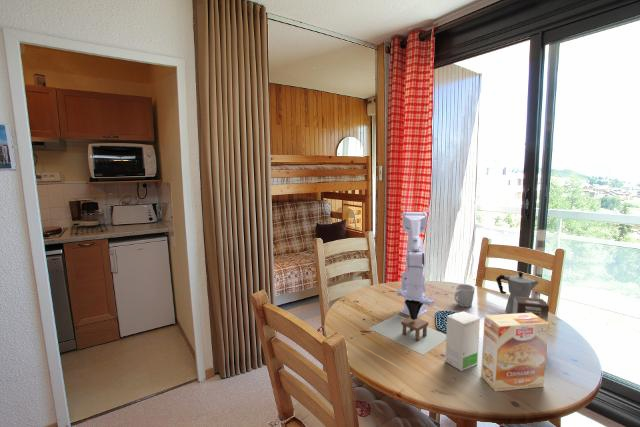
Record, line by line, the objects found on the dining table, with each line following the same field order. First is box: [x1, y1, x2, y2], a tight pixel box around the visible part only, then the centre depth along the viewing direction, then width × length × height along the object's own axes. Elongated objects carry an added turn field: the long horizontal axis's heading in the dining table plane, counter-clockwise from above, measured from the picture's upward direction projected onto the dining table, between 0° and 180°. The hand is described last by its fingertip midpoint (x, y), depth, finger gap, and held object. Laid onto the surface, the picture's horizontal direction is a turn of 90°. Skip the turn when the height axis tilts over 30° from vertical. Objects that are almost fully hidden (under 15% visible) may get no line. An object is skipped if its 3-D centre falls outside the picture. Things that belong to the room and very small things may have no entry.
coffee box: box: [513, 296, 550, 322], centre depth 110 cm, size 9×6×16 cm
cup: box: [453, 283, 476, 308], centre depth 142 cm, size 8×10×8 cm
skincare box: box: [444, 310, 481, 372], centre depth 100 cm, size 8×7×16 cm
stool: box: [401, 316, 429, 341], centre depth 117 cm, size 5×7×7 cm
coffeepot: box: [496, 271, 540, 314], centre depth 134 cm, size 15×9×18 cm, turn 59°
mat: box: [368, 314, 446, 356], centre depth 119 cm, size 18×24×1 cm
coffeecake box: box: [480, 312, 550, 392], centre depth 90 cm, size 15×7×20 cm, turn 96°
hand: (413, 318), depth 117 cm, fingers closed
